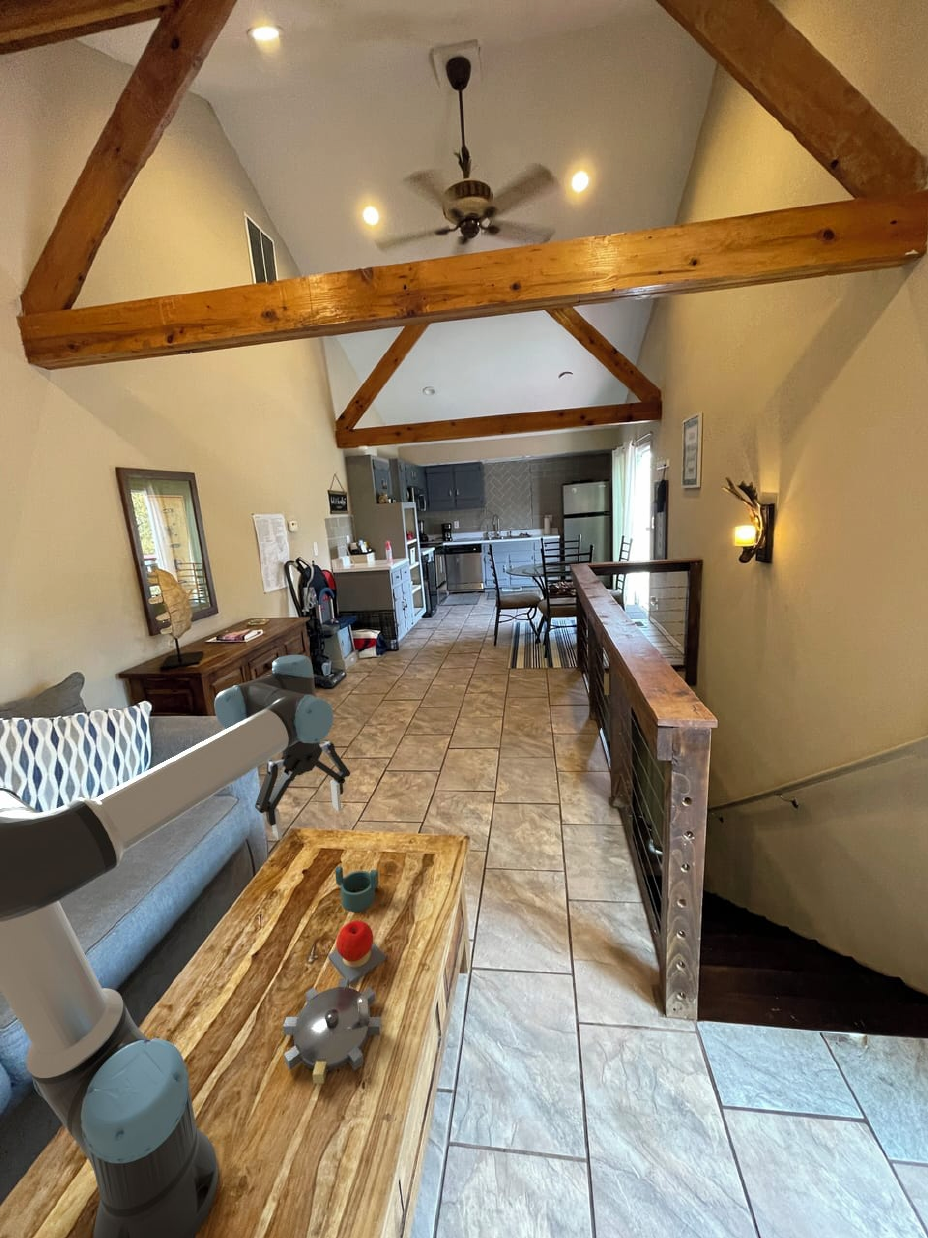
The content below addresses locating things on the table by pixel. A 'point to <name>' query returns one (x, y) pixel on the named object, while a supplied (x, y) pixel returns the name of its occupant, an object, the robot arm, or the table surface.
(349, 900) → the bracket
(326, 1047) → the sprocket
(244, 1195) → the table surface
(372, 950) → the seat
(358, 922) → the apple
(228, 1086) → the table surface
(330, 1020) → the hub
